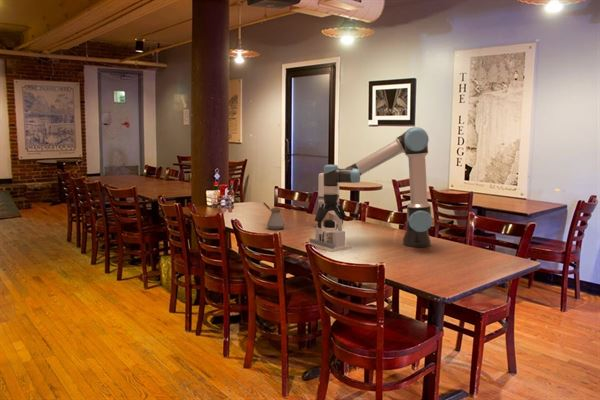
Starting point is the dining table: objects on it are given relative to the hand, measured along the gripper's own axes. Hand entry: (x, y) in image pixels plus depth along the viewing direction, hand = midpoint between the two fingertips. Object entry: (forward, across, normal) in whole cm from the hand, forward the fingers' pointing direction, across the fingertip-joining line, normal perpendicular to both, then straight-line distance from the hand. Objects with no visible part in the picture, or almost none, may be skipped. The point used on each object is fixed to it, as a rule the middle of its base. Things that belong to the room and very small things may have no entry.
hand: (330, 232), depth 285 cm
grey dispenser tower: (+8, -32, -39) cm, 51 cm away
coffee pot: (+8, -4, -62) cm, 63 cm away
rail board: (+8, 0, 0) cm, 8 cm away
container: (+7, 0, 0) cm, 7 cm away
